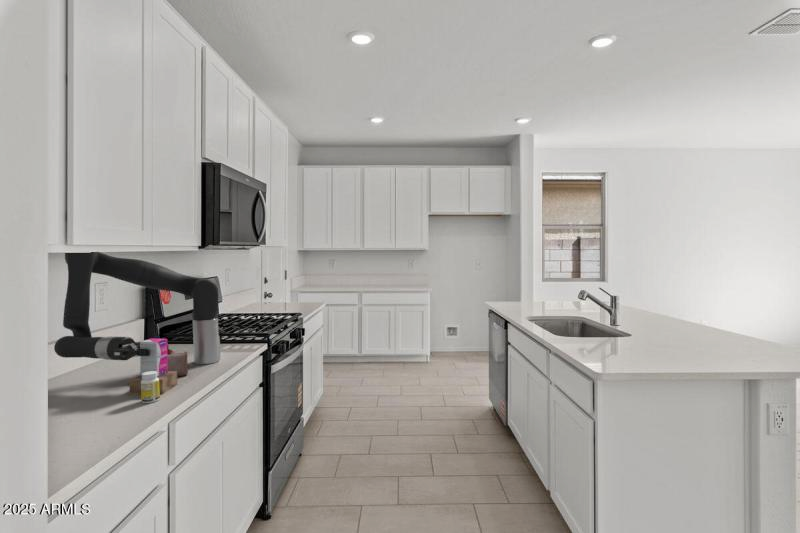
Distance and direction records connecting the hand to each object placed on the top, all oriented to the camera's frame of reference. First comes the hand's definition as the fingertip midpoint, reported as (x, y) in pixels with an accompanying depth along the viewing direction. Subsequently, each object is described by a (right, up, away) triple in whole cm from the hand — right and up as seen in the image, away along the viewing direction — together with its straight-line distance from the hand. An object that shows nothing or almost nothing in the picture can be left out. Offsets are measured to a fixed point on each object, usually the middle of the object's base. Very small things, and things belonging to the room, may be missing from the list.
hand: (158, 349), depth 143 cm
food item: (-6, -13, +17) cm, 22 cm away
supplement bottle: (+3, -14, -10) cm, 17 cm away
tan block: (-2, -13, +1) cm, 14 cm away
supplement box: (-2, -9, +1) cm, 9 cm away
